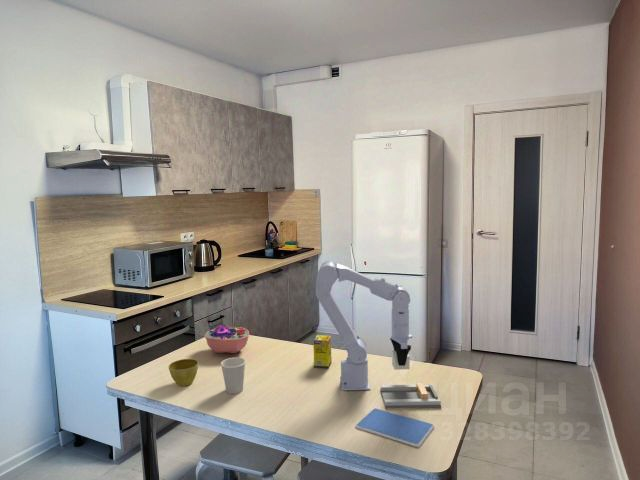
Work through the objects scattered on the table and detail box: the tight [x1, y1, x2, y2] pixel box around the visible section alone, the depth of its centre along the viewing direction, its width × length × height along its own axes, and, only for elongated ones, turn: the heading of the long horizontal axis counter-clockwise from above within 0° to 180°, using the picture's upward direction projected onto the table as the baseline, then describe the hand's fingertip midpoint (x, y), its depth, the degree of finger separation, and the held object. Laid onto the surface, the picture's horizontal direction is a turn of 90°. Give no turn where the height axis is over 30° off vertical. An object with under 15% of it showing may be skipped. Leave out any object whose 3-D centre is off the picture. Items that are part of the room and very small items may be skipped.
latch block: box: [415, 382, 428, 399], centre depth 143 cm, size 2×8×2 cm, turn 179°
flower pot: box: [168, 358, 199, 387], centre depth 158 cm, size 10×10×7 cm
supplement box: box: [312, 334, 333, 369], centre depth 171 cm, size 6×6×11 cm
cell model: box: [203, 324, 250, 354], centre depth 187 cm, size 17×20×11 cm
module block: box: [391, 350, 411, 371], centre depth 151 cm, size 5×5×4 cm
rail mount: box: [380, 383, 442, 409], centre depth 143 cm, size 17×13×2 cm
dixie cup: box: [220, 357, 247, 395], centre depth 151 cm, size 8×8×10 cm
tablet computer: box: [354, 408, 435, 448], centre depth 126 cm, size 19×13×1 cm, turn 56°
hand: (400, 361), depth 151 cm, fingers closed on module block, 5 cm apart
